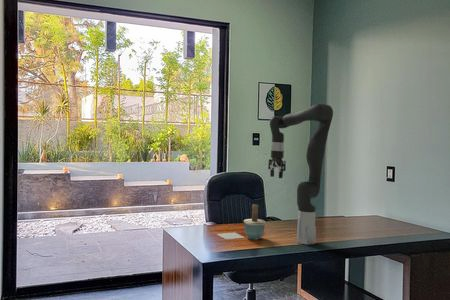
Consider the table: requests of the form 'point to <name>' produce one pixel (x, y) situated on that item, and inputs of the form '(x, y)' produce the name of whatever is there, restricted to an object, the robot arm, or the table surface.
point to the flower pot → (254, 231)
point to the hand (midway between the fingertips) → (276, 177)
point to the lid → (254, 217)
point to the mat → (230, 235)
